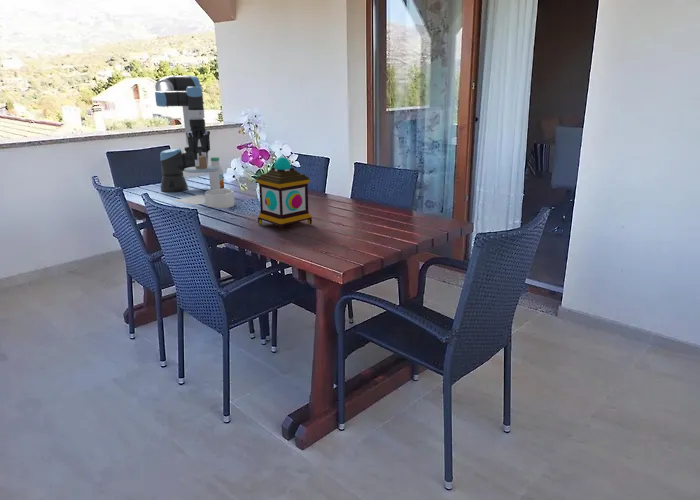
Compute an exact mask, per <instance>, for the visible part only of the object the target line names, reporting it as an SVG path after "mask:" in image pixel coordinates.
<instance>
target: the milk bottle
mask: <svg viewBox="0 0 700 500" xmlns="http://www.w3.org/2000/svg"><path fill="white" fill-rule="evenodd" d="M210 161H211V162H210V163H211V165H210V166H214V167H218V169H219V170H218V171H214V172H208V173H209V175H208V177H209V187H210V190H214V189H225V180H224V171H223V169H222V166H221V165H220V157H217V156H215V157H214V156H213V157H210Z"/></svg>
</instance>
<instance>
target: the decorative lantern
mask: <svg viewBox="0 0 700 500" xmlns="http://www.w3.org/2000/svg"><path fill="white" fill-rule="evenodd" d="M255 180H256V182H257V183H258V189H259V192H258V193H259V207H260V212H259V214H258V216H257V223H258V225H262V224H263V221H264V222H267V223H270V224H274V225H276V226H278V227H279V231H280V233H281V232H284V226H286V225H290V224H296V223H300V222H304V221H307V225H309V226H310V225H312V222H313V220H312V216H311V214H310V211H309V195H308V194H309V187H308V186H309V183H310V180H311V179H310V178H309V176H307V175H306V174H304V173H300V172H298V170H296V169H294V167H292V166H291V161H290V160H289V159H287V157H284V156H281V157H279V158H277V160H275V162H274V167H272V168H271V169H270V170H269V171H267V172H266V173H262V174H260V176H257V178H256V179H255Z"/></svg>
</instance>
